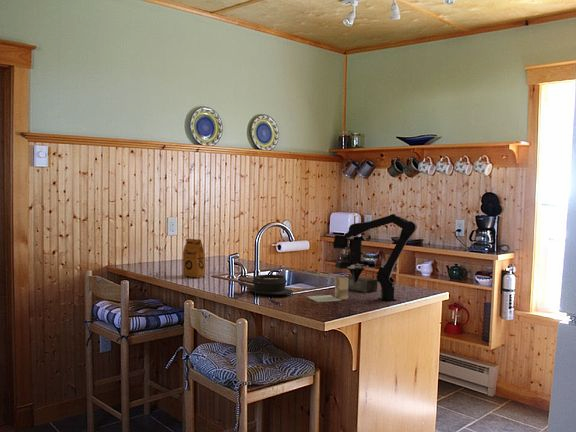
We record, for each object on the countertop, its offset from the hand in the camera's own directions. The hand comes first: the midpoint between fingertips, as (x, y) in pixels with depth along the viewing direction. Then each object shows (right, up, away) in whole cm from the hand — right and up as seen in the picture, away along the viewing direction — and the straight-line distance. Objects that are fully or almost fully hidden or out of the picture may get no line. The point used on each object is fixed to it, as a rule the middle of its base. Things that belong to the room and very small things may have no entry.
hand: (355, 282), depth 264 cm
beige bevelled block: (-7, -7, -2) cm, 10 cm away
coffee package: (-86, -4, +54) cm, 101 cm away
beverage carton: (+4, -7, +21) cm, 23 cm away
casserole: (-41, -7, +6) cm, 42 cm away
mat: (-15, -7, -5) cm, 18 cm away
